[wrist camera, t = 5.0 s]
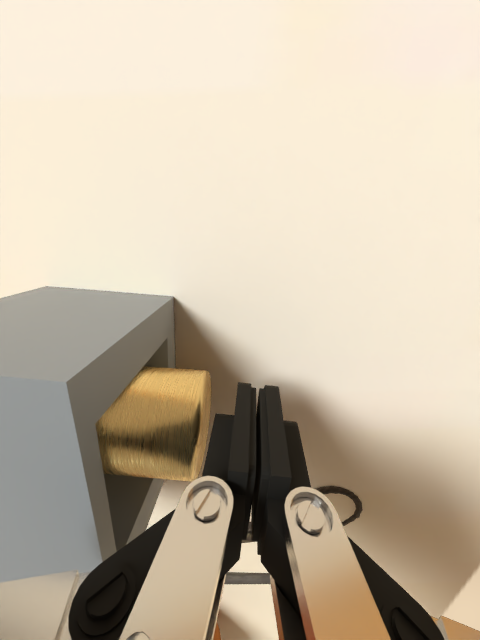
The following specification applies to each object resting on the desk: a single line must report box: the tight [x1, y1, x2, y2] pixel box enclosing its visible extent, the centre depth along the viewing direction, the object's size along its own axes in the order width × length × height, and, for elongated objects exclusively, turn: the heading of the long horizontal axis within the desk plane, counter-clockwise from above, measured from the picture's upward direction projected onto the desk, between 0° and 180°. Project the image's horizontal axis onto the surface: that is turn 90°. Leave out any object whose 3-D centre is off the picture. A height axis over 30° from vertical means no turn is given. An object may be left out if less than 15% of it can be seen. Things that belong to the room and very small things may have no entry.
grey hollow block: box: [0, 286, 175, 583], centre depth 10 cm, size 6×9×7 cm
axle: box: [95, 366, 211, 482], centre depth 10 cm, size 14×4×4 cm, turn 88°
